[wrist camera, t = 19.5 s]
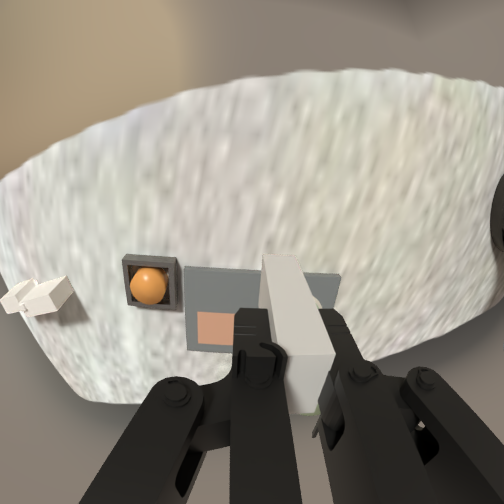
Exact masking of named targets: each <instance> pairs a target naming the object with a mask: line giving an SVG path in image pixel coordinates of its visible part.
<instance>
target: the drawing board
mask: <svg viewBox="0 0 504 504" xmlns="http://www.w3.org/2000/svg"><path fill="white" fill-rule="evenodd" d="M303 274H304V277H305V279H306V281H307V284H308V286H309V289H310V291H311V293H312V296H313V298H314V301H315V303H316V306H317V308H318V309H333V307H334V303H335V300H336V296H337V292H338V288H339V284H340V281H341V276H340V275H339V274H323V273H303ZM260 281H261V271H259V270H241V269H223V268H207V267H191V266H185V268H184V295H185V320H186V339H187V350H191V351H204V352H221V353H233V331H234V315H235V314H236V312H237V311H238V310H239V308H259V306H258V303H259V292H260Z"/></svg>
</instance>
